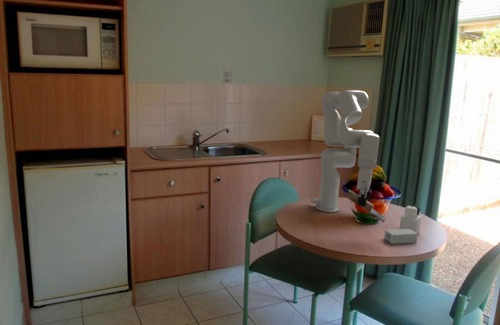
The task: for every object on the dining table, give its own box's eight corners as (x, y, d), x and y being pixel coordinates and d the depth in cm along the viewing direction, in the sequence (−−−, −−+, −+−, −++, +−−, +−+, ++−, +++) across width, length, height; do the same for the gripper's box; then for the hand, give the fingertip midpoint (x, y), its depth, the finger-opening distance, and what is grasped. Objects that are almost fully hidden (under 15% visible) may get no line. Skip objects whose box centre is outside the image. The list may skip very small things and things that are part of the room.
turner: (344, 197, 180) (348, 191, 179) (345, 193, 185) (349, 188, 184) (383, 222, 177) (387, 216, 176) (384, 218, 182) (388, 213, 181)
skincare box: (391, 244, 178) (416, 243, 180) (392, 234, 177) (418, 233, 180) (383, 238, 184) (408, 237, 186) (385, 229, 183) (409, 228, 185)
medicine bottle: (403, 227, 199) (406, 202, 197) (419, 231, 195) (423, 206, 193) (399, 231, 194) (402, 206, 191) (415, 235, 190) (418, 209, 187)
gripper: (359, 158, 185) (354, 198, 190) (356, 165, 171) (351, 209, 175) (377, 160, 183) (372, 201, 187) (375, 168, 168) (369, 212, 172)
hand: (362, 204), depth 181 cm, fingers closed on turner, 2 cm apart
